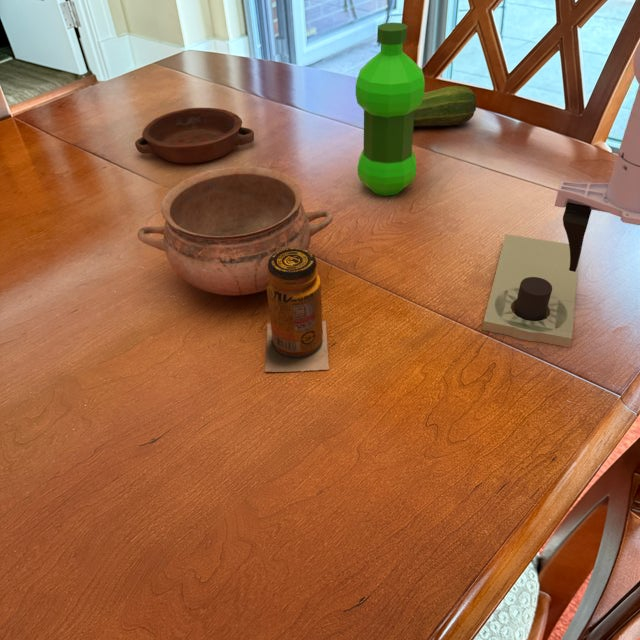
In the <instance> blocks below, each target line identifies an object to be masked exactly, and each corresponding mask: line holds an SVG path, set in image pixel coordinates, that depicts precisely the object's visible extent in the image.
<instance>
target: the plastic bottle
mask: <svg viewBox="0 0 640 640" xmlns="http://www.w3.org/2000/svg"><path fill="white" fill-rule="evenodd" d="M376 35H377V37H376V38H377V39H376V42H377V43H379V44H380V51H379V52H378V53H377V54H376V55H374V56H373V57H372V58H371V59H370V60H368V62H367V63H365V64H364V65H363V66H362V68H360V70H359V73H358V75H357V78H356V82H355V98H356V101H357V104H358V106H360V107H361V108H362V110H363V149H362V151H361V153H360V155H359V158H358V163H357V177H358V178H359V180H360V181H361V182H362V184H363V185H365V186H366V187H367V188H369V189H370V190H371V191H372V192H373V193H374V194H376V195H379V196H384V197H388V196H395V195H397V194H398V193H400V192H402V190H403V189H405V188H406V187H408V186H410V185H411V184H412V183H413V182H414V180H415V178H416V177H417V157H416V155H415V152H414V150H413V137H414V127H413V125H414V110H416V109H417V108H418V107H419V106H420V105H421V104H422V100H423V97H424V93H425V90H426V89H425V86H426V84H425V83H426V82H425V75H424V72H423V69H422V68H421V67H420V66H419V65H418V64H417V63H416V62H415V61H414V60H413V59H412V58H411V57H410V56H408V55H407V53H405V52H404V51H403V48H404V47H403V45H404V44H405V43H407V40H408V39H407V38H408V24H406V23H403V22H384V23H381V24H378V25H377V34H376Z"/></svg>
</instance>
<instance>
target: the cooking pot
mask: <svg viewBox="0 0 640 640" xmlns="http://www.w3.org/2000/svg"><path fill="white" fill-rule="evenodd" d="M303 198H304V197H303V190H302V188H301V186H300V184H299V183H298V182H297V181H296V180H295V179H294V178H292V177H291V176H290V175H287V174H285V173H283V172H281V171H277V170H274V169H270V168H265V167H258V166H230V167H223V168H217V169H212V170H209V171H205V172H200V173H198V174H196V175H193V176H191V177H189V178H186V179H185V180H183V181H181V182H179V183H178V184H176V185H175V186H174V187H172V188H171V189H170V190H169V191H168V192H167V193H166V195H165V196H164V197H163V199H162V203H161V205H160V206H161V215H162V216H163V219H164V220H165V221H164V222H165V223H164V225H161V226H143V227H141V228H140V229H138V231H137V239H138V240H139V241H140V242H141V243H144V245H145V244H146V245H147V246H150V247H152V248H154V249H157V250H159V251H162V252H164V253H165V255H166V258H167V261H168V263H169V264H170V266H171V267H172V269H173V270H174V271H175V272H176V274H178V276H179V277H180V278H182V279H183V280H184V281H185V282H187V283H188V284H189V285H190V286H193V287H195V288H197V289H198V290H201V291H204V292H208V293H210V294H214V295H219V296H245V295H251V294H256V293H260V292H263V291H267V280H268V278H269V276H268V272H269V270H268V261H269V259H270V257H271V256H272V255H273V254H274V253H276V252H278V251H280V250H283V249H286V248H301V249H305V250H307V251H309V247H310V244H311V237H313V236H314V235H316V234H318V233H319V232H321V231H322V230H324V229H325V228H327V227H328V226H329V225H330V224H331V223H333V220H334V215H333V213H332V212H331V211H330V210H327V209H323V210H317V211H308V212H306V210H305V208H304V205H303V203H302V202H303V200H304V199H303ZM321 218H324V219H323V220H322V221H320V222H319V223H316V224H311V222H312V221H315V220H317V219H321ZM147 234H149V235H150V234H156V235H157V234H159V235H163V238H157V239H155V238H153V237H149V236H147Z"/></svg>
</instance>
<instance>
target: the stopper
mask: <svg viewBox="0 0 640 640" xmlns="http://www.w3.org/2000/svg"><path fill="white" fill-rule="evenodd" d="M551 292H552V285H551V284H550V283H549V282H548V281H546V280H545V279H542V278H538V277H528V278H525V279H523V280H522V281H521V284H520V288H519V292H518V297H517V301H516V306H515V308H514V309H513V313H514V314H515V315H517V316H518V317H520V318H522V319H524V320H528V321H541V320H544V319H546V318H545V317H546V315H545V314H546V311H547V307H548V303H549V300H550V296H551Z"/></svg>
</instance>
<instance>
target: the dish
mask: <svg viewBox="0 0 640 640" xmlns="http://www.w3.org/2000/svg"><path fill="white" fill-rule="evenodd" d="M242 125H243V120H242V118H241V117H240V116H239V115H238V114H236V113H235V112H232V111H229V110H227V109H222V108H217V107H216V108H215V107H190V108H189V107H188V108H184V109H178V110H175V111H171V112H167V113H165V114H162V115H160V116H158V117H156V118H154V119H152V121H151V120H150V122H149V123H148V124H147V125H146V126H145V127H144V128H143V130H142V133H141V137H139V138H138V139H136V140H135V143H134V145H135V148H136V150H137V151H138V152H139V153H141V154H145V155H147V154H149V155H157V156H159V157H161V158H162V159H163V160H165V161H168V162H172V163H178V164H194V163H196V164H197V163H202V162H207V161H212V160H216V159H219V158H222V157H224V156H225V155H227V154H229V153H231V152H232V151H233V150H234V149H235V148H236V147H238V146H244V145H248V144H251V143H253V142H254V141H255V132H254V130H253V129H251V128H249V127H243V126H242Z"/></svg>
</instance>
